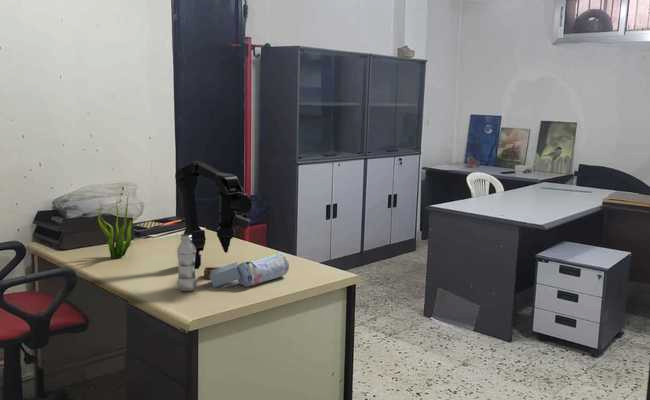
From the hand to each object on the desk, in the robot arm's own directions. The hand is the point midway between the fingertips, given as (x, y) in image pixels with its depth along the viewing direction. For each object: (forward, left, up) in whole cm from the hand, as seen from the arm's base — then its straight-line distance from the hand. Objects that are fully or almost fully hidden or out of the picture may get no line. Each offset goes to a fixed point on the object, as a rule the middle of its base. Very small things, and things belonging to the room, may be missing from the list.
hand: (227, 249), depth 229 cm
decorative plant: (-45, +31, -11) cm, 56 cm away
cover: (+1, -10, -9) cm, 13 cm away
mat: (0, -10, -11) cm, 15 cm away
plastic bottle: (-13, -16, -11) cm, 23 cm away
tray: (0, +1, -11) cm, 11 cm away
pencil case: (+13, -6, -11) cm, 18 cm away
